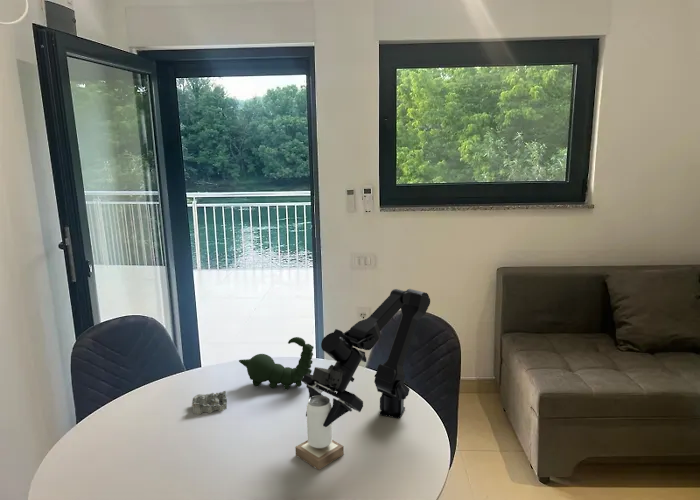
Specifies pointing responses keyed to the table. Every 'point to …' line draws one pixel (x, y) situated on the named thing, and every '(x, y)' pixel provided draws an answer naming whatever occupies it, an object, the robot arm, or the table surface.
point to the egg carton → (202, 402)
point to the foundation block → (319, 454)
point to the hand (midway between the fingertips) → (315, 421)
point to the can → (318, 422)
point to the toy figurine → (279, 367)
